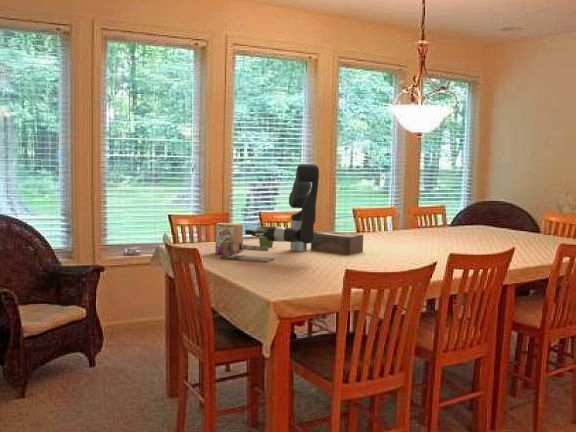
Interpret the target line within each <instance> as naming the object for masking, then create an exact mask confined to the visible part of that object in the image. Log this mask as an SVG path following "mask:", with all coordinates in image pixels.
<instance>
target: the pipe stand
mask: <svg viewBox="0 0 576 432" xmlns="http://www.w3.org/2000/svg"><path fill="white" fill-rule="evenodd" d="M232 249H233V244H232V241H225V242H223V254H222V256H220V257H219V259H220V260H221V259H222V260H231V261H232V260H233V261H242V262H243V261H245V262H255V263H256V262H257V263H268V264H269V263H270V262H271V261H274V260H275V257H269V256H268V257H267V256H256V255H255V256H254V255H245V254H244V255H243V254H236V255H232ZM239 249H240V250H243V251H254V252H255V251H256V252H269V247H265V246H260V245H251V244H250V245H249V244H243V245H240V244H239Z"/></svg>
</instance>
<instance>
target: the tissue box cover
mask: <svg viewBox="0 0 576 432" xmlns="http://www.w3.org/2000/svg"><path fill="white" fill-rule="evenodd" d="M315 232H316V233H317V239H316V240H315V241H314V242H313V243H310V250H311V251H318V252H324V251H325V252H327V253H332V252H333V254H341V255H342V254H343V255H347V254H349V256H352V255H355V253H356V254H360V253H363V252H364V234H359V233H350V232H342V231H332V230H320V231H319V230H318V231H315ZM359 252H360V253H359ZM351 254H352V255H351Z"/></svg>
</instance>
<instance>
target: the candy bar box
mask: <svg viewBox="0 0 576 432" xmlns="http://www.w3.org/2000/svg"><path fill="white" fill-rule="evenodd" d="M235 224H236V223H230V222H229V223H228V222H217V223H216V224H215V254H217V255H218V254H219V255H223V242H225V241H232V244H233V236H234V225H235ZM232 255H237V254H236V253H233V249H232Z"/></svg>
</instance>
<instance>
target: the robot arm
mask: <svg viewBox="0 0 576 432" xmlns="http://www.w3.org/2000/svg"><path fill="white" fill-rule="evenodd" d="M319 179H320V167H319V165H318V164H317V163H299V164H298V165H297V168H296V173H295V179H294V182H293V186H292V190H291V191H290V193H289V196H288V204H289V206H290V208H293V209H300V211H298V212H296V213H293V214H291V217H290V227H285V226H284V227H283V226H271V225H270V226H267V227H268V229H258V230H257V228H255V229H245V231H244V233H245V235H249V236H252V237H255V238H259V237H262V238H264V237H267V240H268V241H273V242H276V243H282V242H285V243H287V242H288V243H290V245H289V247H290V248H289V249H290V251H293V252H306V251H308V250H307V249H308V244H311V243H313V242H314V241H315V240H316V239H317V233H316V232H317V231H315V230H314V229H315V228H314V227H315V223H316V221H317V220H316V219H317V217H316V216H317V213H316V210H317V209H316V208H317V207H316V206H317V197H318V190H319Z"/></svg>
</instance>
